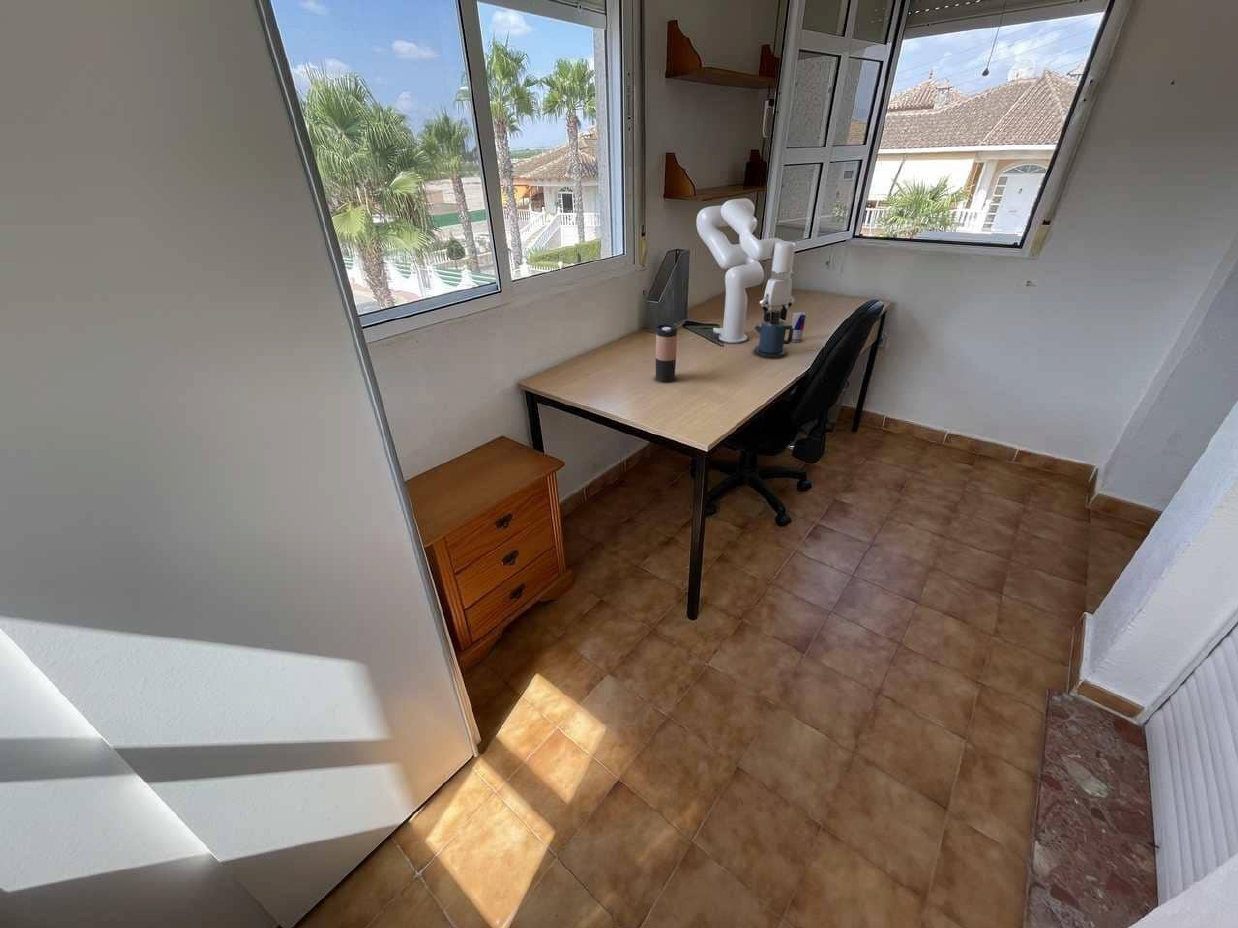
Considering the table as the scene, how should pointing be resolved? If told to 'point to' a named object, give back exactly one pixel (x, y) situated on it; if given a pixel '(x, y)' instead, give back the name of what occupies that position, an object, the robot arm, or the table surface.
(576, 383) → the table surface
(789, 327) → the kettle
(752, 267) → the robot arm
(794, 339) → the energy drink
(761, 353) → the base
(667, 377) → the travel mug
